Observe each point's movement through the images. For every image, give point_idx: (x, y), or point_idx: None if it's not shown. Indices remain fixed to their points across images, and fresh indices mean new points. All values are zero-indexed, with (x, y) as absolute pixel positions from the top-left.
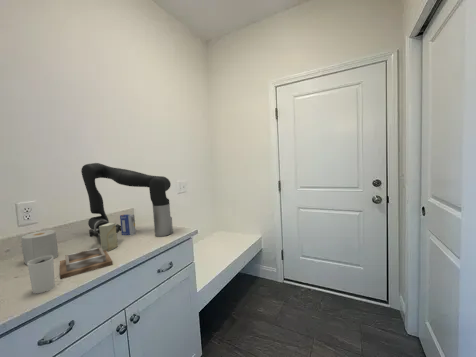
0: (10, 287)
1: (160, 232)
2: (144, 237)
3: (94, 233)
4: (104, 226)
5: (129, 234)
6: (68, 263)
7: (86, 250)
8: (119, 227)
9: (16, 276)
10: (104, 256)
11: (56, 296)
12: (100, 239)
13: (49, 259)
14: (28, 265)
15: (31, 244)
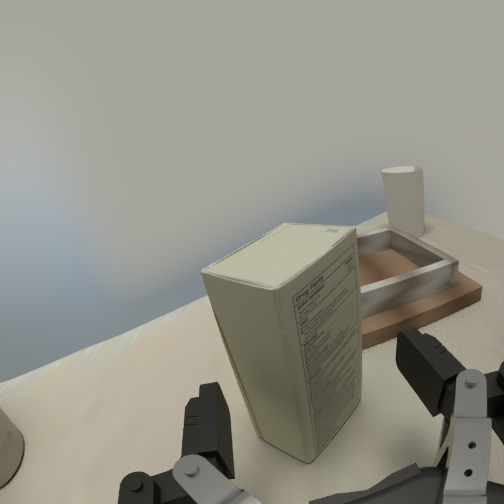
0: (487, 237)
1: (6, 416)
2: (57, 498)
3: (445, 349)
4: (304, 225)
5: None
6: (392, 229)
7: (394, 280)
8: (151, 476)
9: None
10: None
11: (364, 223)
12: (361, 336)
13: (399, 180)
14: (412, 169)
15: None
